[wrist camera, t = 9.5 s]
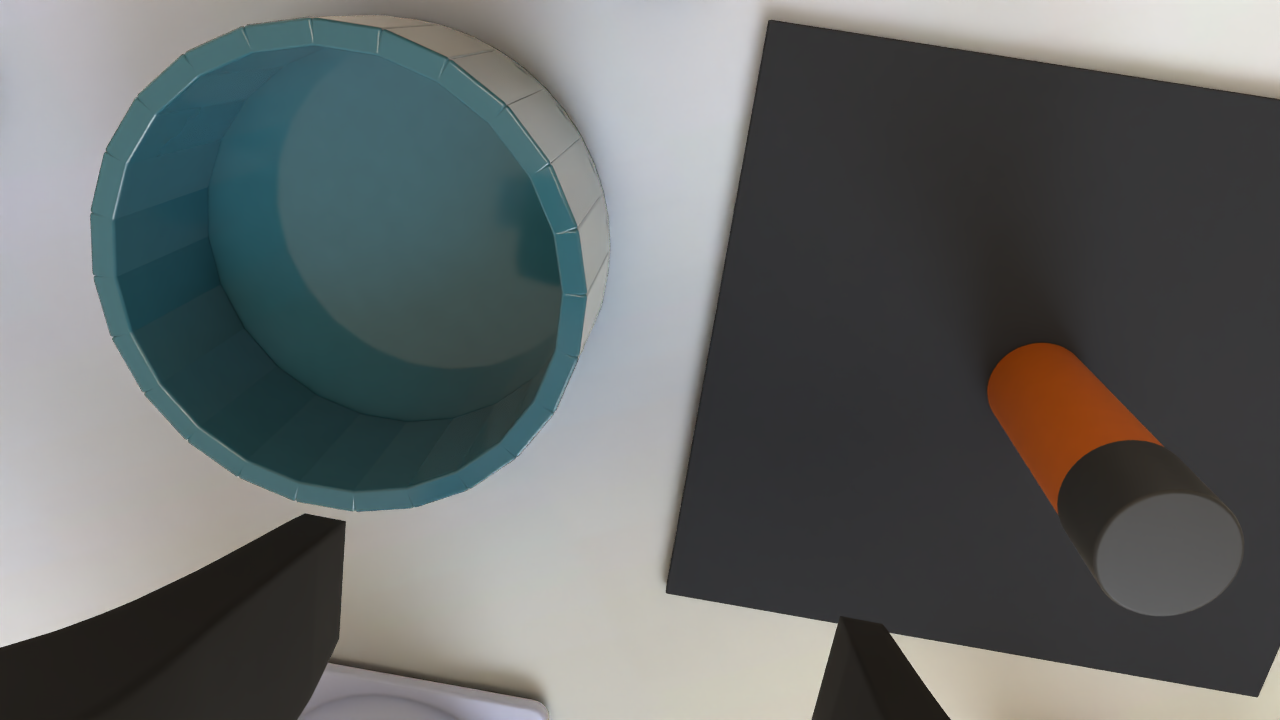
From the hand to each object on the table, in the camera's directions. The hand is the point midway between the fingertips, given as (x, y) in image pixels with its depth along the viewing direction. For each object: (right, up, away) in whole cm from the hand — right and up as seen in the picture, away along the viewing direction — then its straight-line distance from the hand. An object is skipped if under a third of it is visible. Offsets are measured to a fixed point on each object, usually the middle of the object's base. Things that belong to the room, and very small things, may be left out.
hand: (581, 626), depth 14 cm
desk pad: (+10, +3, +9) cm, 14 cm away
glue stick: (+10, +3, +9) cm, 14 cm away
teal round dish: (-5, +7, +9) cm, 12 cm away
